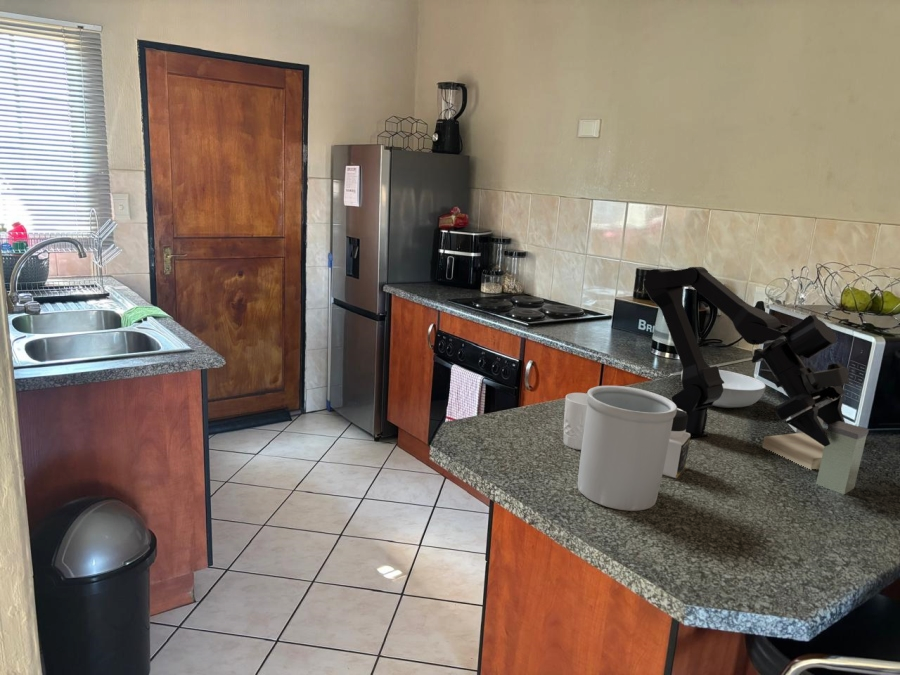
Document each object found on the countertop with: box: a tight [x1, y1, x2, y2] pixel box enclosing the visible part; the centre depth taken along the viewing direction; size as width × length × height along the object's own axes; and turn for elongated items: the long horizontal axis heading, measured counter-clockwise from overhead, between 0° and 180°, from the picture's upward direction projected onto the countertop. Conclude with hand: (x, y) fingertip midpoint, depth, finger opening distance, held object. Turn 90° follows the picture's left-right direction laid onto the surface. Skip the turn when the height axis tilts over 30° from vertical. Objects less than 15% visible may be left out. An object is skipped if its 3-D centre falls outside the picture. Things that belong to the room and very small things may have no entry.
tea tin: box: [815, 421, 869, 495], centre depth 124 cm, size 5×5×12 cm
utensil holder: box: [577, 385, 677, 512], centre depth 113 cm, size 15×15×18 cm
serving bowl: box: [680, 369, 767, 409], centre depth 173 cm, size 21×21×7 cm
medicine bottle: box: [662, 408, 691, 479], centre depth 126 cm, size 7×7×12 cm
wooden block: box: [762, 432, 824, 471], centre depth 140 cm, size 12×12×3 cm
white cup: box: [562, 392, 588, 451], centre depth 135 cm, size 8×8×10 cm
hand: (837, 440), depth 125 cm, fingers open, 9 cm apart
